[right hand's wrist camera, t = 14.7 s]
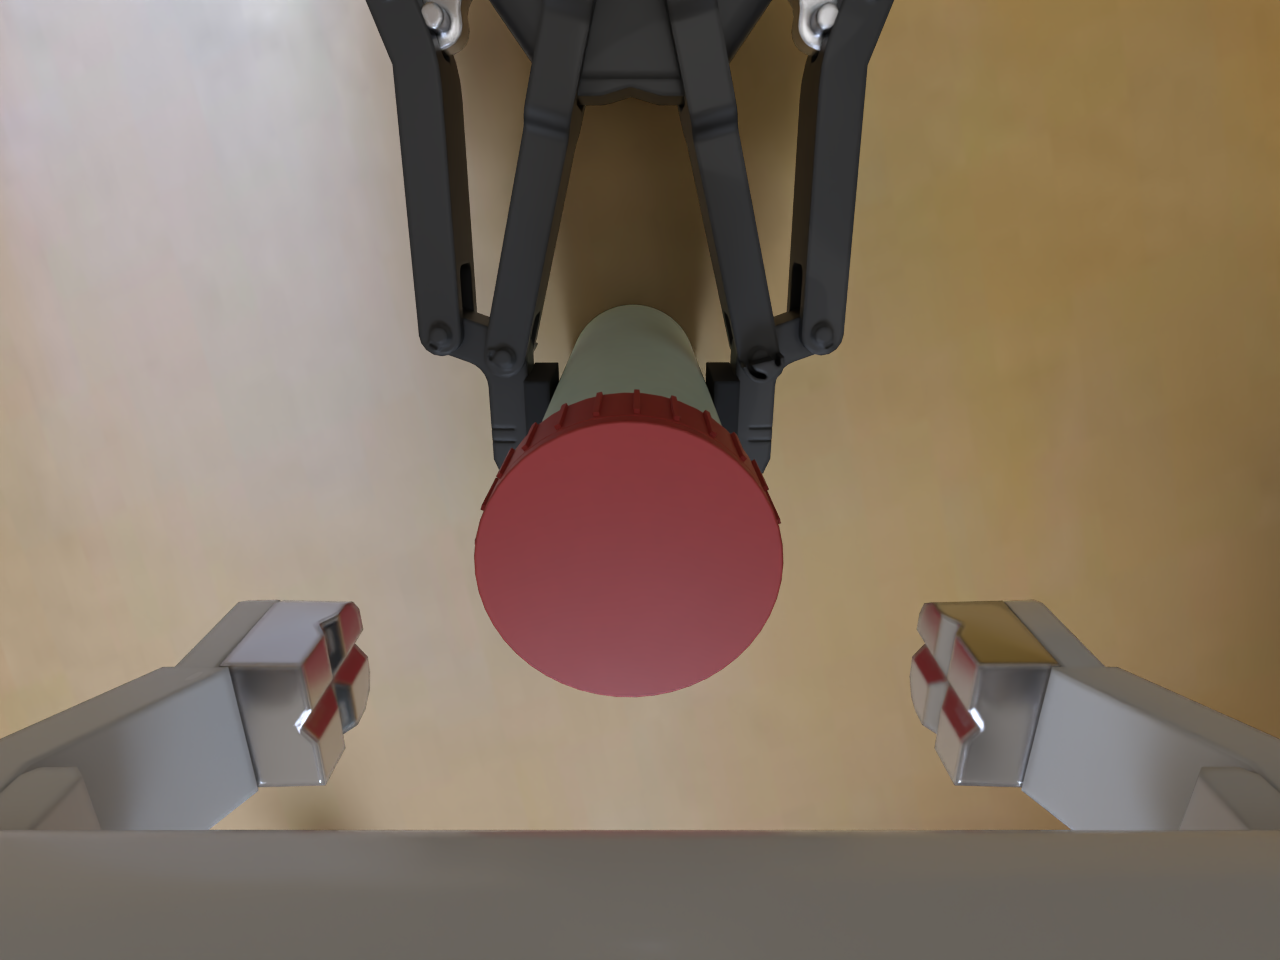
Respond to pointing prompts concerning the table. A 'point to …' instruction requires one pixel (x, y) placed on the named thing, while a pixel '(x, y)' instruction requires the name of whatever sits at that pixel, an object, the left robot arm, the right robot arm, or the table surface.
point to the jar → (633, 360)
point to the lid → (629, 546)
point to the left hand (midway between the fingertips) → (633, 558)
